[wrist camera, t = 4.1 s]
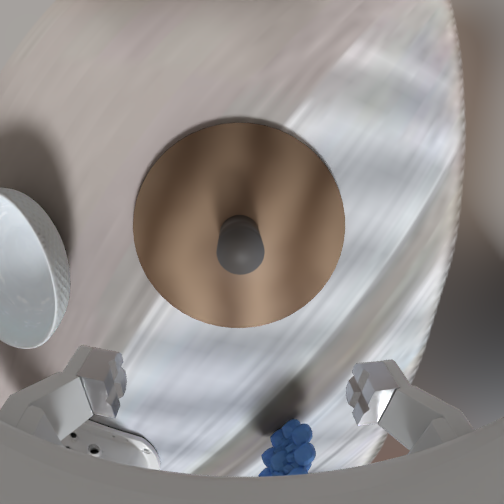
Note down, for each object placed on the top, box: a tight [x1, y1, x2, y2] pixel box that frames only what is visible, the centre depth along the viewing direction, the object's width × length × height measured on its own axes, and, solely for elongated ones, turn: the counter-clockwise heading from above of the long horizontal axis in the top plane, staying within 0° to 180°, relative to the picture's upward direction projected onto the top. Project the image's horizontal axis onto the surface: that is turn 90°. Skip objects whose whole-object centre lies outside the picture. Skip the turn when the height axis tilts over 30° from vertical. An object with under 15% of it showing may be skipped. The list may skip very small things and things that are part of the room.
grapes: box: [259, 419, 316, 477], centre depth 32 cm, size 12×7×12 cm, turn 151°
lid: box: [133, 123, 345, 328], centre depth 25 cm, size 20×20×6 cm
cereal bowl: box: [0, 187, 70, 349], centre depth 24 cm, size 17×17×7 cm
